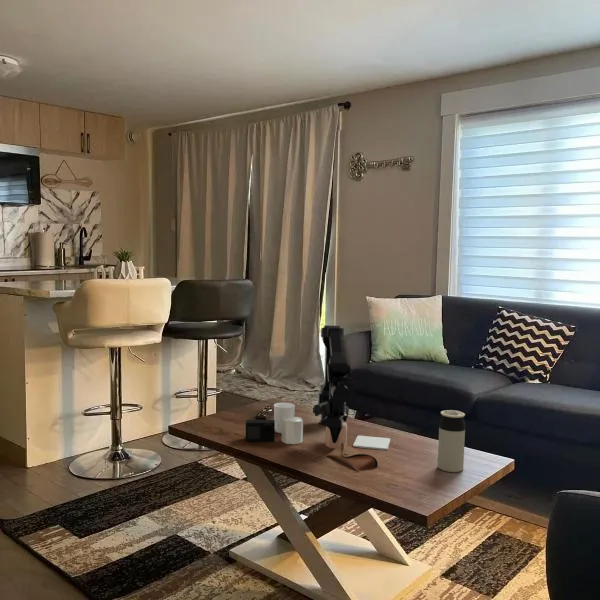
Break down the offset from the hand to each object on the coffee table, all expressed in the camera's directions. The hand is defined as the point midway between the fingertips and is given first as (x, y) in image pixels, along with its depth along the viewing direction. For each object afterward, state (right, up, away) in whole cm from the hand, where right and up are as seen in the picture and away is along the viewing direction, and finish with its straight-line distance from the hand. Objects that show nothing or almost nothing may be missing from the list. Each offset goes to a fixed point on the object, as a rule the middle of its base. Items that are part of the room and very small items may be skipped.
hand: (336, 439), depth 214 cm
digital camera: (-27, -1, +4) cm, 27 cm away
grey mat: (+13, -2, +3) cm, 14 cm away
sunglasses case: (+4, -4, -16) cm, 17 cm away
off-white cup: (-16, -1, +4) cm, 16 cm away
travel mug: (+35, -5, -20) cm, 41 cm away
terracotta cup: (0, -2, 0) cm, 2 cm away
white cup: (-19, -1, +16) cm, 25 cm away
